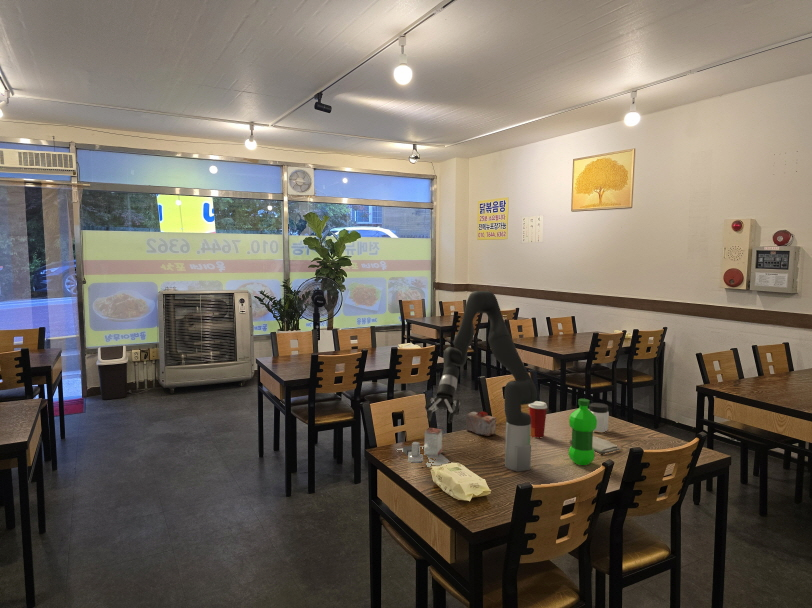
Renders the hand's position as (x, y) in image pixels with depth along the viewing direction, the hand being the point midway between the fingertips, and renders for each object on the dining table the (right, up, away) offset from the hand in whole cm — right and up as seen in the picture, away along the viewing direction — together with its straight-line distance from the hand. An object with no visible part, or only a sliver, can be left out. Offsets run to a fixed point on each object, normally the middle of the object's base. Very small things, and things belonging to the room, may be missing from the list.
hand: (438, 421), depth 220 cm
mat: (-7, -12, -9) cm, 17 cm away
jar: (+76, -11, +28) cm, 81 cm away
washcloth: (+66, -13, +6) cm, 68 cm away
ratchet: (-11, -12, -11) cm, 19 cm away
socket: (-3, -12, -6) cm, 13 cm away
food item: (+21, -10, +22) cm, 32 cm away
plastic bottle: (+54, -14, -13) cm, 58 cm away
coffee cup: (+45, -11, +19) cm, 50 cm away
